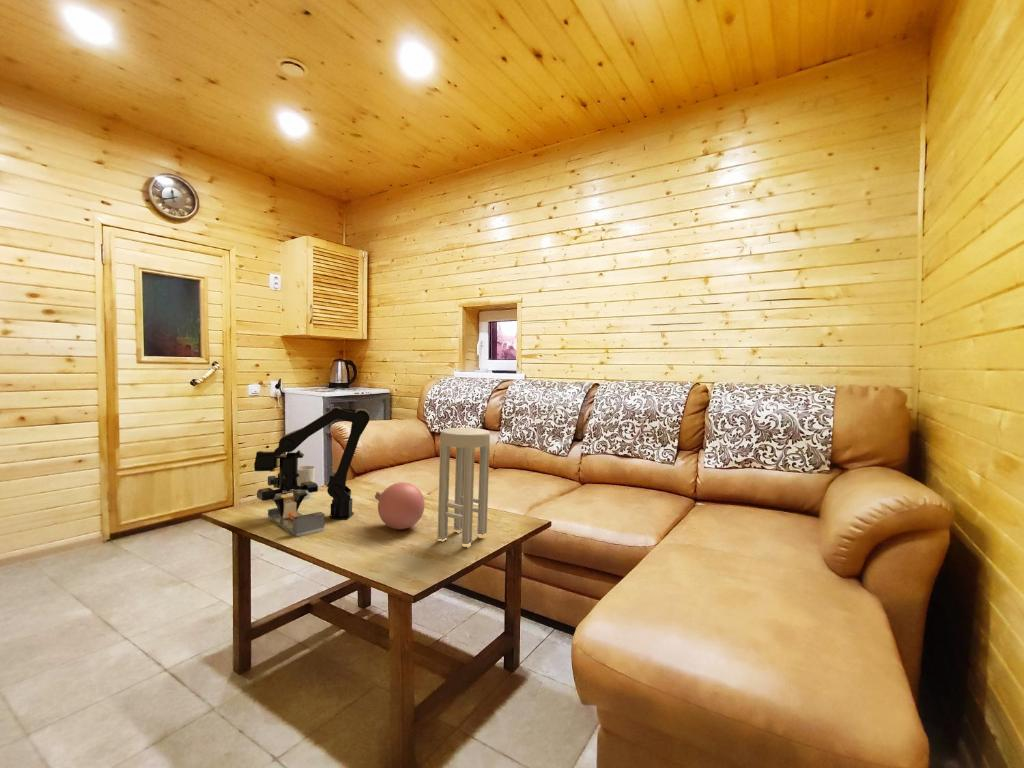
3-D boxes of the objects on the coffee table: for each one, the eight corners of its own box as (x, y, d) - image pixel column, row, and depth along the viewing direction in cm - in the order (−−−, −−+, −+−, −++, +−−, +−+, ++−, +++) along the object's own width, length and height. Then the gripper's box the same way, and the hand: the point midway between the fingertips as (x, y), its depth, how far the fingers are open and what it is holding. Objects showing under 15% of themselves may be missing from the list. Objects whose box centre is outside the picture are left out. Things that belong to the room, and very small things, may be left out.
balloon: (394, 514, 175) (395, 473, 174) (433, 527, 163) (434, 482, 162) (359, 525, 162) (360, 480, 161) (398, 540, 150) (399, 492, 150)
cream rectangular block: (279, 515, 166) (280, 502, 165) (291, 513, 168) (291, 499, 168) (290, 522, 159) (290, 508, 159) (302, 519, 162) (302, 505, 162)
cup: (309, 500, 188) (310, 470, 188) (289, 499, 188) (290, 469, 188) (318, 494, 196) (318, 466, 196) (299, 494, 196) (299, 465, 196)
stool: (456, 527, 164) (458, 426, 162) (495, 536, 156) (498, 430, 155) (428, 541, 150) (431, 431, 148) (469, 552, 143) (473, 436, 141)
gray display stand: (267, 518, 167) (268, 502, 166) (294, 512, 173) (294, 497, 173) (296, 537, 150) (296, 519, 150) (324, 530, 157) (324, 513, 156)
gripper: (305, 463, 177) (305, 504, 178) (251, 470, 164) (250, 514, 164) (319, 468, 170) (318, 511, 170) (263, 476, 156) (262, 523, 157)
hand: (288, 514), depth 166 cm, fingers closed on cream rectangular block, 4 cm apart
